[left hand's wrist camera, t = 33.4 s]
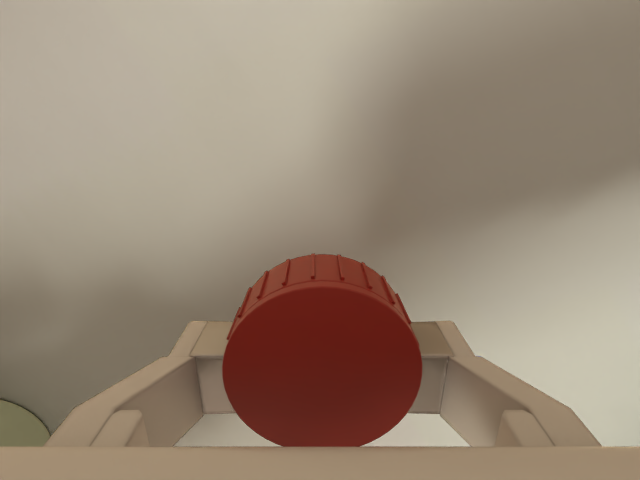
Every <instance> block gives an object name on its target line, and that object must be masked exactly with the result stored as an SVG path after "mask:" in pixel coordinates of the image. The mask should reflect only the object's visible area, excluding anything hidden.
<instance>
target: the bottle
mask: <svg viewBox="0 0 640 480" xmlns="http://www.w3.org/2000/svg"><path fill="white" fill-rule="evenodd" d="M49 438H50V434H49V432H48V430H47V429H46V427H45V426H44V424H43V423H42V422H41V421H40V420H39V419H38V418H37V417H36V416H35V415H33V414H32V413H31V412H29V411H28V410H26V409H24V408H22V407H20V406H18V405H16V404H13V403H10V402H7V401H3V400H0V447H42V446H43V445H44V444H45V443H46V442H47V440H48V439H49Z"/></svg>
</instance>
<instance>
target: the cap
mask: <svg viewBox="0 0 640 480" xmlns="http://www.w3.org/2000/svg"><path fill="white" fill-rule="evenodd" d="M410 324H412V323H411V321H410V319H409V317H408V314H407V312H406V310H405V308H404V306H403V304H402V302H401V300H400V297H399V295H398V294H395V293H394V291H393V290H392V288H391V287H390V285H389V284H388V283H387V282H386V279H385V277H384V276H380V275H379V274H378V273H376V272H375V271H374V270H372V269H371V268H369V267H367V266H366V265H365V263H363V262H362V263H360V262H357V261H355V260H352V259H349V258H346V257H342V256H341V255H337V256H336V255H325V254H318V255H315V254H311V255H307V256H302V257H298V258H295V259H291V260H290V259H287V260H286V262H284V263H282V264H280V265H278V266H276V267H274V268H273V269H271V270H270V271H266V272H265V273H264V275H263V276H262V277H261V278H260V279H259V280H258V281H257V282H256V283H255V284H254V286H253V287H252V288H249V289H248V291H247V294H246V296H245V299H244V301H243V304H242V306H241V307H239V309H238V311H237V314H236V316H235V319H234V321H233V324H232V326H231V329H230V331H229V334H228V336H227V339H226V340H228V343H227V345H226V349H225V352H224V356H223V364H222V378H223V383H224V388H225V391H226V394H227V397H228V400H229V401H230V403H231V405H232V407H233V409H234V410H235V412H236V413H237V414H238V416H239V417H240V418H241V419H242V420H243V421H244V422H245V424H246V425H247V426H249V427H250V428H251V429H252V430H253V431H255V432H256V433H257V434H259V435H261V436H262V437H264V438H265V439H267V440H269V441H271V442H273V443H275V444H278V445H281V446H283V447H359V446H362V445H365V444H367V443H370V442H372V441H373V440H375V439H377V438H379V437H381V436H382V435H384V434H385V433H387V432H388V431H390V430H391V429H392V428H393V427H394V426H396V425H397V424H398V423H399V422H400V421H401V420H402V419H403V417H404V416H405V415H406V414H407V412H408V411H409V409H410V408H411V407H412V405H413V403H414V401H415V399H416V397H417V394H418V391H419V388H420V385H421V379H422V357H421V352H420V349H419V343H418V340H417V338H416V336H415V334H414V332H413V330H412V327H411V325H410Z"/></svg>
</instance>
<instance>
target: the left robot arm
mask: <svg viewBox="0 0 640 480" xmlns="http://www.w3.org/2000/svg"><path fill="white" fill-rule="evenodd" d="M411 323H412V324H410V325H411V327H412V330H413V332H414V334H415V336H416V338H417V340H418V343H419V349H420V352H421V357H422V379H421V385H420V388H419V391H418V394H417V397H416V399H415V401H414V403H413V405H412V407H411V408H410V409H409V411H408V412H407V413H424V414H440V416H441V417H442V418H443V419H444V420H445V421H446V422H447V423H448V424H449V425H450V426H451V427H452V428H453V429H454V430H455V431H456V432H457V433H458V434H459V435H460V436H461V437H462V438H463V439H464V440H465V441H466V442H467V443H468V444H469V445H470V446H471V447H172V446H173V445H174V444H175V443H176V442H177V441H178V440H179V439H180V438H181V437H182V436H183V435H184V434H185V433H186V432H187V431H188V430H189V429H190V428H191V427H192V426H193V425H195V424H196V423H197V422H198V421H199V420H200V419H201V418H202V417H203V414H218V413H236V412H235V410H234V409H233V407H232V405H231V403H230V401H229V400H228V397H227V394H226V391H225V388H224V383H223V378H222V364H223V356H224V352H225V349H226V345H227V343H228V340H226V339H227V336H228V334H229V331H230V329H231V326H232V324H233V322H229V321H191V322H189V323H188V325H187V326H186V328H185V330H184V331H183V333H182V335H181V336H180V338H179V339H178V341H177V343H176V344H175V346H174V348H173V349H172V351H171V352H170V354H169V356H168V357H161V358H159V359H158V360H156V361H154V362H152V363H151V364H149V365H147V366H146V367H144V368H142V369H140V370H139V371H137V372H135V373H134V374H132V375H130V376H128V377H127V378H125V379H123V380H121V381H120V382H118V383H116V384H115V385H113V386H111V387H109V388H108V389H106V390H104V391H103V392H101V393H99V394H97V395H96V396H94V397H92V398H91V399H89V400H87V401H85V402H84V403H82V404H80V405H79V406H77V407H75V408H74V409H73V410H72V411H71V412H70V414H69V415H68V416H67V417H66V418H65V420H64V421H63V422H62V423H61V425H60V426H59V427H58V428H57V429H56V431H55V432H54V433H53V434H52V436H51V437H50V438H49V439H48V440H47V442H46V443H45V444H44V445H43V446H42V447H0V480H640V447H602V445H601V444H600V443H599V442H598V441H597V439H596V438H595V437H594V436H593V435H592V433H591V432H590V431H589V430H588V429H587V427H586V426H585V425H584V424H583V423H582V421H581V420H580V419H579V418H578V416H577V415H576V414H575V413H574V412H573V410H572V409H571V408H569V407H567V406H565V405H564V404H562V403H560V402H559V401H557V400H555V399H553V398H552V397H550V396H548V395H546V394H545V393H543V392H541V391H540V390H538V389H536V388H534V387H533V386H531V385H529V384H527V383H526V382H524V381H522V380H521V379H519V378H517V377H515V376H514V375H512V374H510V373H508V372H507V371H505V370H503V369H502V368H500V367H498V366H496V365H495V364H493V363H491V362H489V361H488V360H486V359H484V358H482V357H476V356H475V355H474V353H473V352H472V350H471V349H470V347H469V346H468V344H467V342H466V341H465V339H464V338H463V336H462V335H461V333H460V331H459V330H458V328H457V327H456V325H455V324H454V322H452V321H434V322H411Z"/></svg>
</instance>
